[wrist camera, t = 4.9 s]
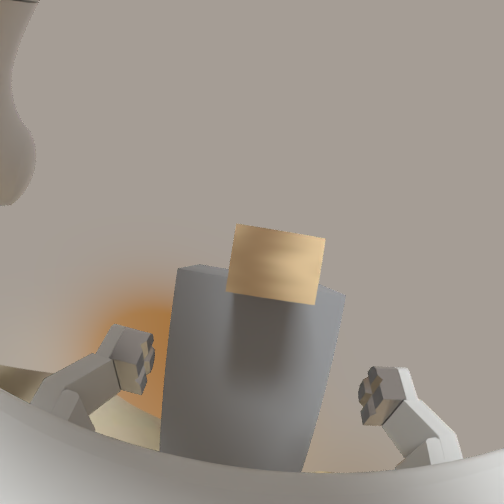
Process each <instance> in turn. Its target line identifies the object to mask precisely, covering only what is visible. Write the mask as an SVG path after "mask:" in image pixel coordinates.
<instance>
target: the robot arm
mask: <svg viewBox="0 0 504 504" xmlns="http://www.w3.org/2000/svg"><path fill="white" fill-rule="evenodd" d="M38 1H40V0H0V206H5V205H12V204H13V203H14V202H15V201H16V200H18V199H19V198H20V196H21V195H22V194H23V193H24V191H25V190H26V188H27V187H28V185H29V183H30V181H31V179H32V176H33V173H34V169H35V162H36V149H35V144H34V140H33V138H32V135H31V133H30V131H29V130H28V128H27V127H26V126H25V125H24V123H23V122H22V120H21V118H20V116H19V114H18V112H17V110H16V107H15V104H14V100H13V95H12V88H11V87H12V86H11V78H12V69H13V64H14V60H15V57H16V54H17V51H18V47H19V45H20V42H21V39H22V37H23V34H24V32H25V30H26V27H27V25H28V23H29V20H30V19H31V16H32V14H33V13H34V10H35V8H36V7H37V5H38V3H39V2H38ZM153 341H154V340H153V334H151V333H147V332H143V331H139V330H136V329H132V328H128V327H124V326H121V325H117V324H114V325H113V326H111V328H110V330H109V331H108V333H107V335H106V337H105V338H104V340H103V342H102V344H101V345H100V347H99V349H98V351H97V352H96V354H93V353H92V354H90V355H88V356H86V357H84V358H82V359H80V360H78V361H76V362H75V363H73V364H71V365H69V366H67V367H65V368H63V369H62V370H60V371H58V372H56V373H54V374H52V375H50V376H48V377H46V378H45V379H44V380H43V382H42V383H41V385H40V387H39V389H38V390H37V392H36V394H35V395H34V397H33V399H32V401H31V402H30V403H28V402H26V401H24V400H22V399H20V398H18V397H16V396H14V395H12V394H10V393H9V392H7V391H5V390H3V389H2V388H0V504H504V448H502V449H498V450H495V451H491V452H488V453H484V454H480V455H476V456H473V457H468V458H464V459H463V457H462V453H461V449H460V446H459V442H458V439H457V436H456V433H455V432H453V431H452V430H451V429H450V428H449V427H448V426H447V425H446V424H445V423H444V422H443V421H442V420H441V419H440V418H439V417H438V416H437V415H436V414H435V413H434V412H433V411H432V410H431V409H430V408H429V407H428V406H427V405H426V404H425V403H424V402H423V401H422V400H418V397H417V394H416V391H415V388H414V385H413V382H412V378H411V375H410V373H409V370H408V369H407V368H395V367H376V366H373V367H371V368H370V370H369V371H368V377H367V378H365V379H363V381H362V383H361V384H360V388H359V391H358V398H359V402H360V404H361V405H362V406H363V409H362V410H361V417H362V423H363V425H372V426H377V425H378V426H382V428H383V429H384V430H385V432H386V433H387V435H388V436H389V437H390V439H391V440H392V441H393V443H394V444H395V446H396V447H397V448H398V450H399V451H400V453H401V454H402V455H403V457H404V458H405V459H404V460H403V461H401V462H400V463H399V464H398V465H397V466H396V467H395V470H386V471H373V472H355V473H304V472H285V471H272V470H261V469H252V468H243V467H236V466H229V465H222V464H216V463H210V462H205V461H200V460H194V459H190V458H185V457H180V456H176V455H172V454H167V453H163V452H159V451H155V450H152V449H148V448H144V447H141V446H137V445H134V444H131V443H127V442H124V441H121V440H118V439H115V438H112V437H109V436H106V435H103V434H100V433H97V432H95V428H94V425H93V424H92V422H91V420H90V418H89V416H88V415H90V414H91V413H92V412H94V411H95V410H96V409H98V408H99V407H100V406H102V405H103V404H104V403H106V402H107V401H108V400H110V399H111V398H112V397H113V396H115V395H116V394H117V393H119V392H120V390H123V391H128V392H131V393H135V394H139V395H142V393H143V391H144V388H145V386H146V383H147V378H146V375H147V374H149V373H150V372H151V370H152V367H153V363H154V356H155V352H154V351H155V350H154V348H153V347H152V343H153Z"/></svg>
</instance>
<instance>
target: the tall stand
mask: <svg viewBox="0 0 504 504" xmlns="http://www.w3.org/2000/svg"><path fill="white" fill-rule="evenodd" d="M228 272H229V269H224V268H218V267H212V266H206V265H200V264H199V265H194V266H189V267H183V268H178V270H177V277H176V284H175V291H174V299H173V306H172V314H171V322H170V330H169V339H168V348H167V358H166V368H165V378H164V390H163V402H162V416H161V417H162V418H161V432H160V452H163V453H167V454H172V455H176V456H180V457H185V458H190V459H194V460H200V461H205V462H210V463H216V464H222V465H229V466H236V467H243V468H252V469H261V470H272V471H285V472H301V471H302V468H303V465H304V462H305V459H306V456H307V452H308V449H309V446H310V443H311V439H312V436H313V432H314V429H315V426H316V422H317V419H318V415H319V411H320V408H321V404H322V400H323V396H324V392H325V389H326V385H327V381H328V377H329V373H330V368H331V364H332V360H333V356H334V351H335V346H336V342H337V337H338V332H339V328H340V323H341V318H342V312H343V307H344V302H345V297H346V295H344V294H341V293H339V292H337V291H334V290H332V289H330V288H327V287H325V286H322V285H320V284H318V289H317V295H316V300H315V305H309V304H302V303H295V302H289V301H282V300H275V299H269V298H262V297H256V296H250V295H244V294H237V293H231V292H225V291H226V284H227V278H228Z"/></svg>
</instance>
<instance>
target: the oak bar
mask: <svg viewBox="0 0 504 504" xmlns="http://www.w3.org/2000/svg"><path fill="white" fill-rule="evenodd" d="M324 246H325V238H319V237H313V236H308V235H302V234H296V233H290V232H284V231H278V230H272V229H266V228H260V227H254V226H248V225H242V224H236V230H235V235H234V242H233V247H232V254H231V260H230V266H229V272H228V278H227V284H226V291H225V292H231V293H237V294H244V295H250V296H256V297H262V298H269V299H275V300H282V301H289V302H295V303H302V304H309V305H315V300H316V295H317V289H318V283H319V277H320V271H321V265H322V259H323V252H324Z"/></svg>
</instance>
